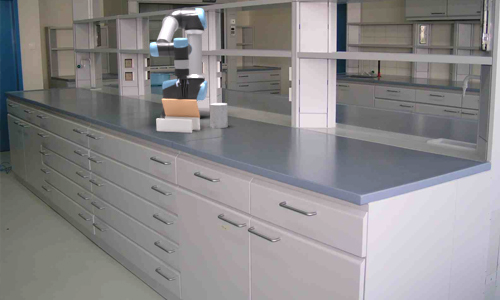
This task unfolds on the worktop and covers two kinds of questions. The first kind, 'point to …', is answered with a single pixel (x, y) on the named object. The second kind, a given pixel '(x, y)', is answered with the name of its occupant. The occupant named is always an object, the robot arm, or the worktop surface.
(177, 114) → the duct cover
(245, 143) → the worktop surface
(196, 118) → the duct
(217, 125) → the grey concrete cylinder
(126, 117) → the worktop surface
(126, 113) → the worktop surface
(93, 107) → the worktop surface
